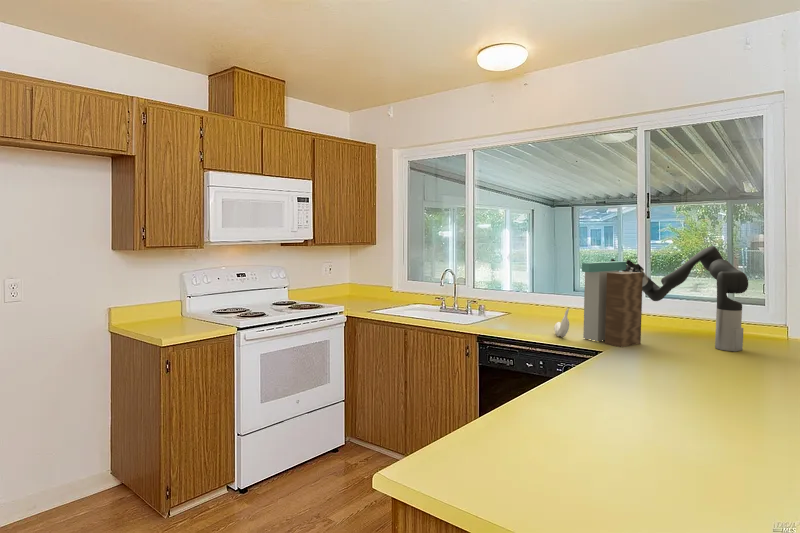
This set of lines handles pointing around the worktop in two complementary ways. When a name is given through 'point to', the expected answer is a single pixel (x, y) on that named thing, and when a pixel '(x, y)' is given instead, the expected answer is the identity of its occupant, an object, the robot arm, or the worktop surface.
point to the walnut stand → (623, 308)
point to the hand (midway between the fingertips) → (619, 260)
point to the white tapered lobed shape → (562, 326)
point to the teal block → (603, 266)
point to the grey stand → (595, 305)
